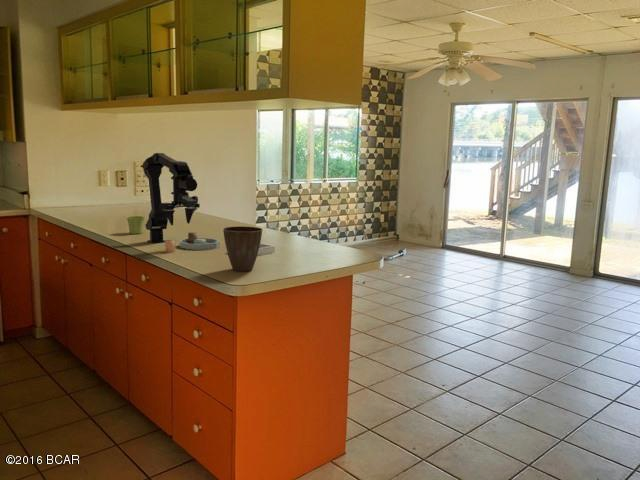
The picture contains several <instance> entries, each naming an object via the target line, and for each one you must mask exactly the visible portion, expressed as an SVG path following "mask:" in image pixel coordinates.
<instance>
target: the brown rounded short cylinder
mask: <svg viewBox="0 0 640 480" xmlns="http://www.w3.org/2000/svg"><path fill="white" fill-rule="evenodd" d="M187 234H188V235H187V239H188V243H190V244H194V239H197V238H198V232H195V231H193V232H192V231H191V232H190V231H189V232H188V233H187Z"/></svg>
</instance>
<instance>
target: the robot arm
mask: <svg viewBox="0 0 640 480" xmlns="http://www.w3.org/2000/svg"><path fill="white" fill-rule="evenodd" d="M164 167H166V168H168V172H170V173H171V174H172V176H171V177H170V180H172V185H173V186H172V189H173V191H171V193H170V194H171V195H172V196H173V197H172V198H173V200H172V201H171V202H162V195H161V185H160V176H161V174H162V170H163V168H164ZM142 170H143V174H144V176H145V177H146V178H147V180H148V188H149V189H148V190H149V196H150V208H151V209H150V211H149V213H148V219H147V222H146V223H145V230H147V231H149V240H148V239H147V242H148V243H152V244H156V243H157V244H158V243H165V240H164V230H167V227H168V223H170V226H174V213H175V212H176V210H175V209H177V208H184V213H185V219H186V224H190V223H191V220H192V216H193V214H194V212H195V211H197V210H198V208H200V207H201V205H200V202H199V197H198V196H197V195H192V196H190V195H189V192H194V191H196V190H197V188H198V182H197V180H196V179H195V178H194V176H193V173H192V171H191V169H190V166H189V164H188V163H187V162H186V161H181V160H176V159H174V158H172V157H171V156H169V155H166V154H165V153H164V152H156V153H153V154H152V155H150V156H149V157H147V158H146V159H145V160H144V161H143V162H142Z"/></svg>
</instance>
